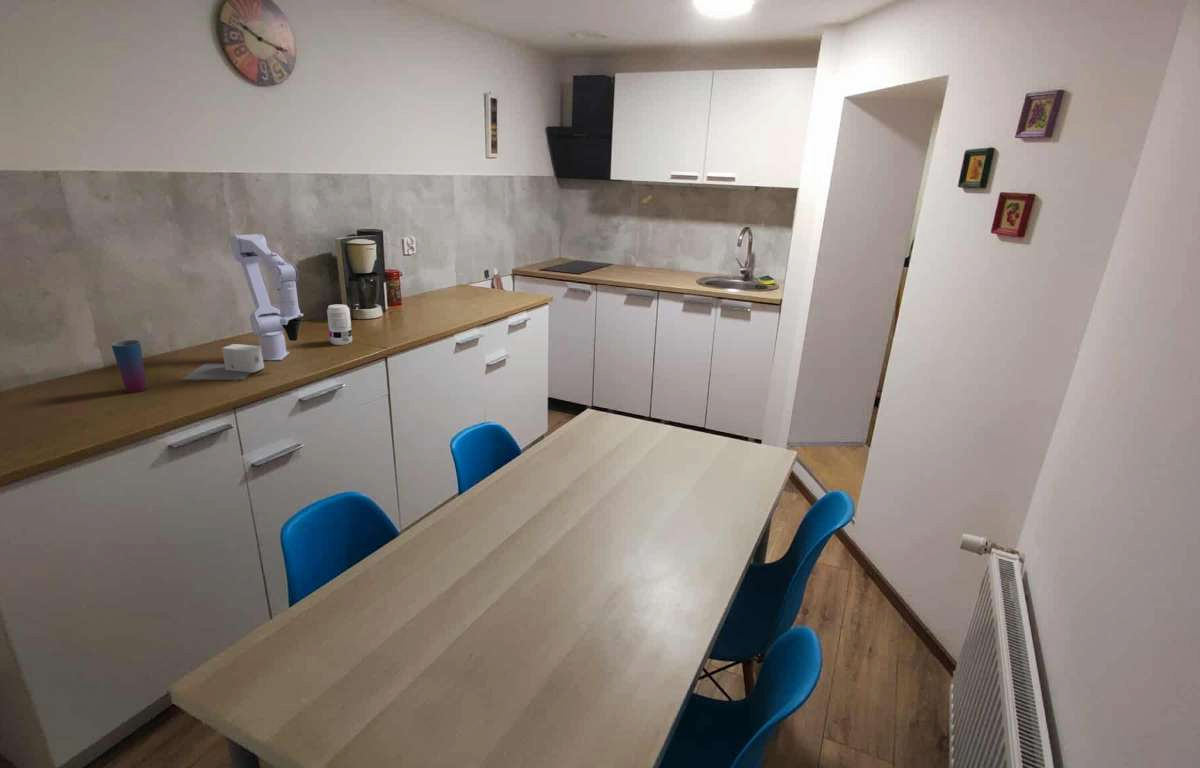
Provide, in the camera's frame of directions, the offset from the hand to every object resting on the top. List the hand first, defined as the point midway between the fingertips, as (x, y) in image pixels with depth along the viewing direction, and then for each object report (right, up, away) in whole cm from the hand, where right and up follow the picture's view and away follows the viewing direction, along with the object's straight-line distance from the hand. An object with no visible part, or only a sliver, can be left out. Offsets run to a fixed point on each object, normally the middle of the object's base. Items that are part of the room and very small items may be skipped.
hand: (293, 340), depth 202 cm
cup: (-37, -17, -22) cm, 46 cm away
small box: (-10, -7, -3) cm, 13 cm away
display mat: (-22, -11, -4) cm, 25 cm away
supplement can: (+1, +1, +35) cm, 35 cm away
